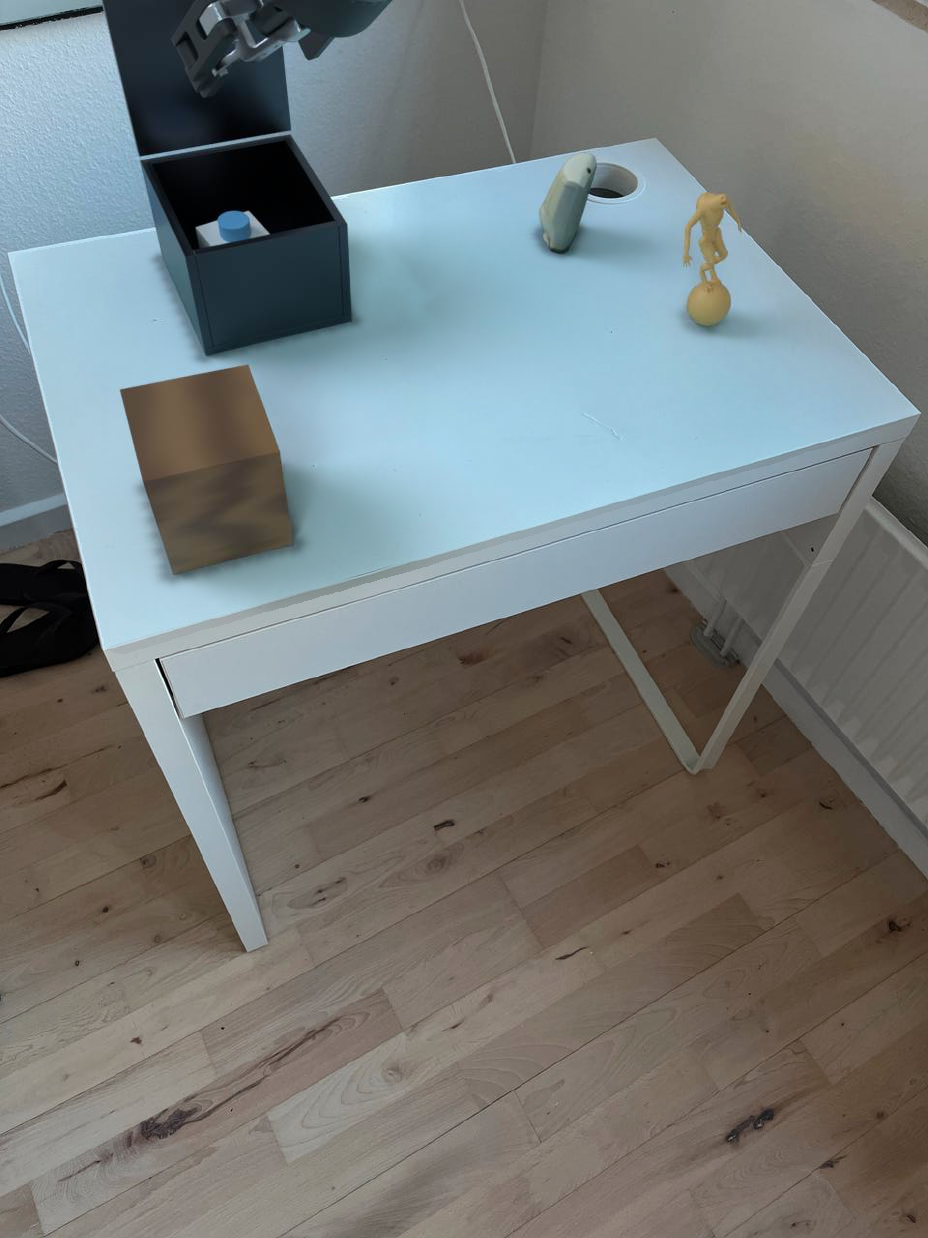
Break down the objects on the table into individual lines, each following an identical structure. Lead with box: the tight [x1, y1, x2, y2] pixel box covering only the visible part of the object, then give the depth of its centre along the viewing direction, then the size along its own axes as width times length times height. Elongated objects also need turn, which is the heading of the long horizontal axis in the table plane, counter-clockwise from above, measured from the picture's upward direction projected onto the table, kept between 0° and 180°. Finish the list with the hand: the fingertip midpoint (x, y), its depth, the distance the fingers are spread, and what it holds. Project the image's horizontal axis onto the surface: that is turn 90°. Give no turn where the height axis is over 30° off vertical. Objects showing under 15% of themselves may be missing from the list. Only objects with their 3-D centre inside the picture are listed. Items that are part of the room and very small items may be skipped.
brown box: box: [119, 364, 294, 575], centre depth 68 cm, size 9×9×10 cm
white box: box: [196, 211, 269, 248], centre depth 81 cm, size 5×5×8 cm
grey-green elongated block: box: [538, 151, 598, 255], centre depth 91 cm, size 6×5×8 cm
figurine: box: [682, 191, 743, 327], centre depth 84 cm, size 8×6×12 cm
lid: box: [100, 0, 292, 157], centre depth 77 cm, size 15×14×4 cm
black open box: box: [139, 133, 353, 356], centre depth 83 cm, size 15×14×10 cm
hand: (252, 62), depth 63 cm, fingers open, 8 cm apart
